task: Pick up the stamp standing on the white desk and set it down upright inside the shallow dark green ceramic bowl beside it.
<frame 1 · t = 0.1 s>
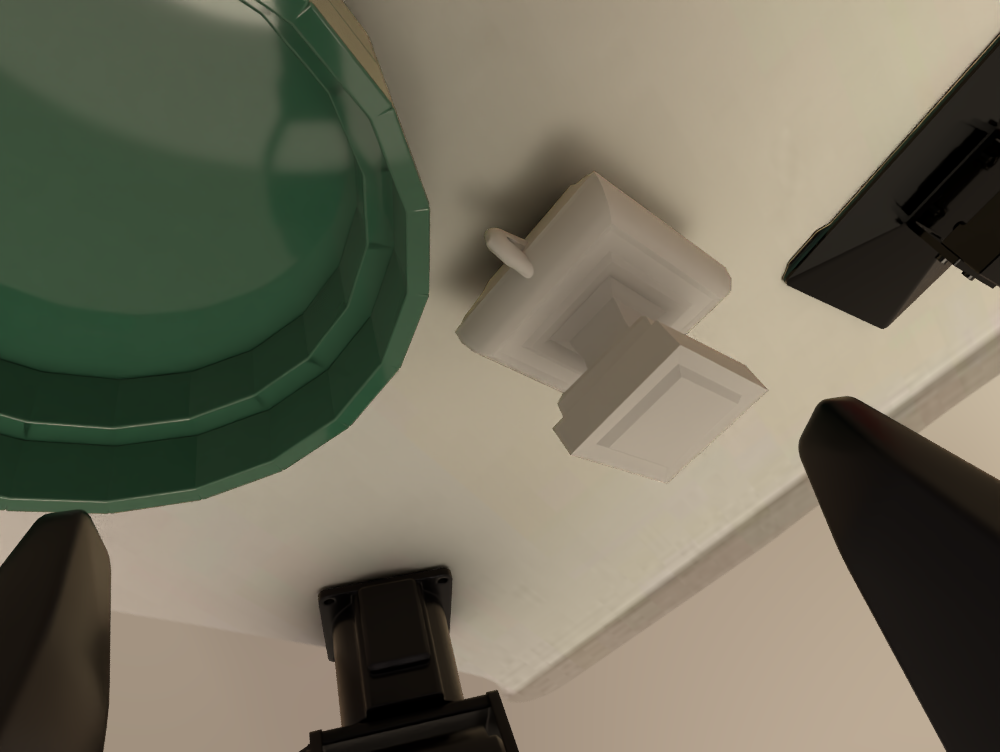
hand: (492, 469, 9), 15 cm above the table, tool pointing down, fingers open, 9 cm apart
stamp: (567, 253, 26), on the table
build plate: (948, 177, 28), on the table
green bowl: (97, 174, 20), on the table
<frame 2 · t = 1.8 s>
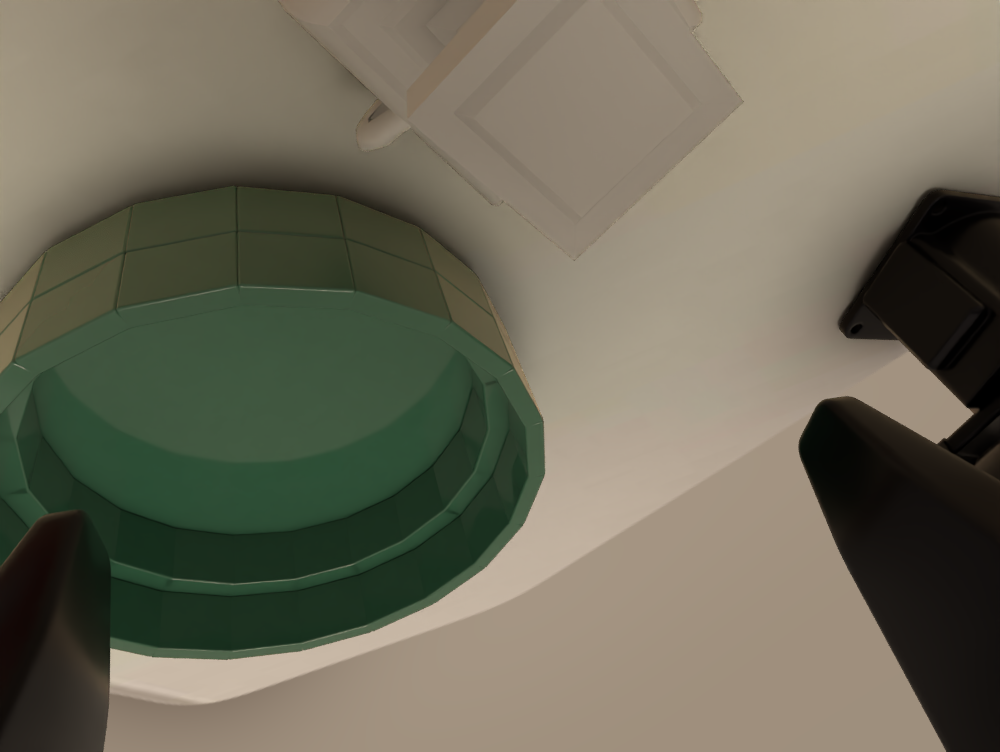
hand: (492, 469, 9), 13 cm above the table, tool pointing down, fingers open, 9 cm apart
green bowl: (271, 396, 25), on the table
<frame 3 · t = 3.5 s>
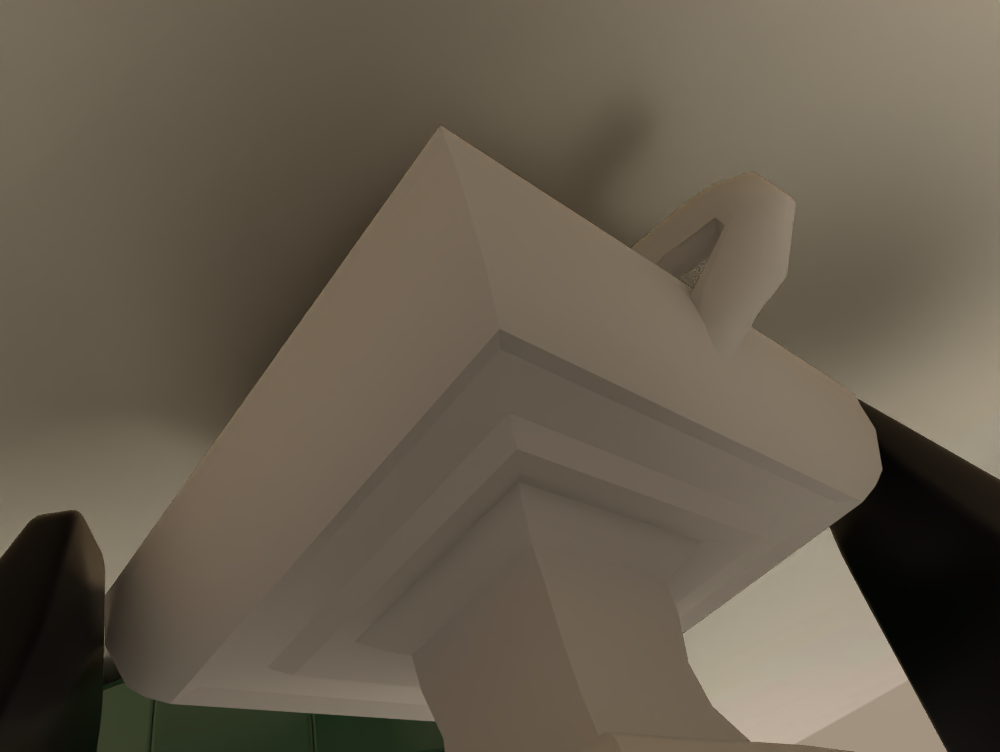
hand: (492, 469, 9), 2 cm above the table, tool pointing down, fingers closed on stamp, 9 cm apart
stamp: (454, 347, 11), on the table, touching gripper
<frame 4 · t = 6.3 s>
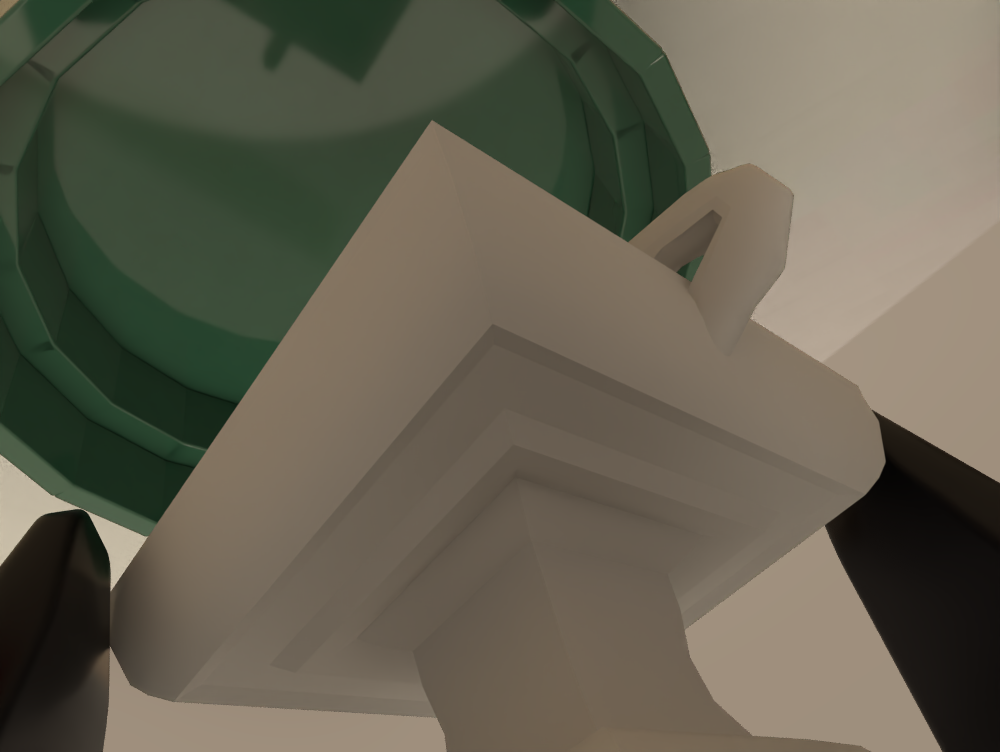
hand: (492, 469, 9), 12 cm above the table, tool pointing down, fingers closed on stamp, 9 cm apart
stamp: (455, 344, 11), point 10 cm above the table, touching gripper
green bowl: (340, 214, 20), on the table
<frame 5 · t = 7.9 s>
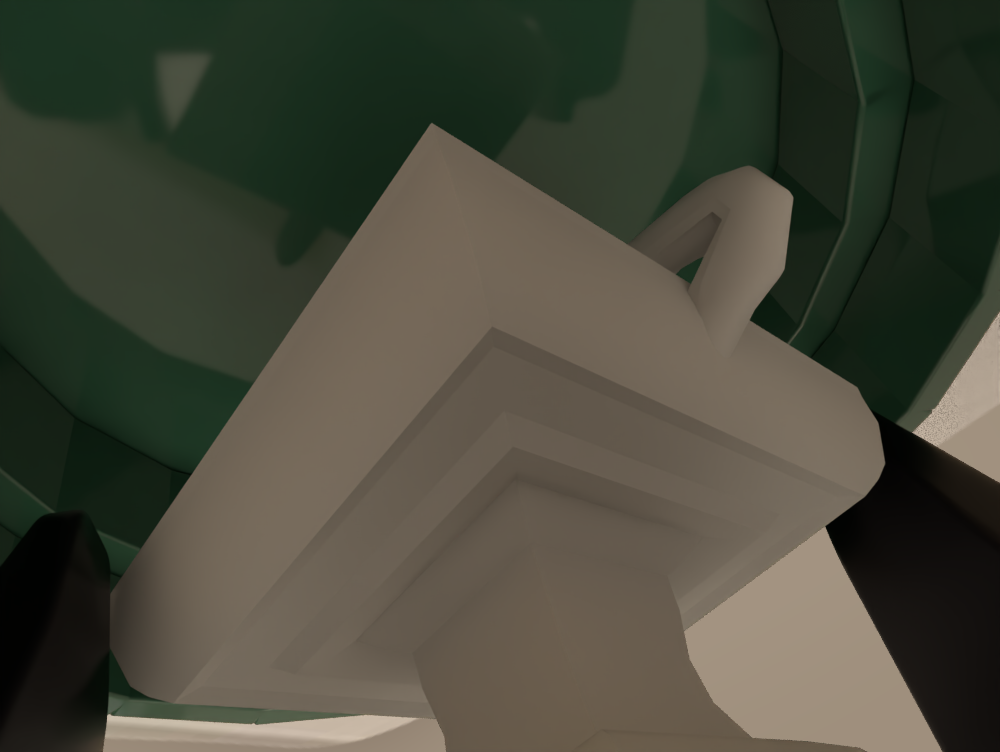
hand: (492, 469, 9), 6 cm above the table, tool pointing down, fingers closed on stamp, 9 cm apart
stamp: (455, 345, 11), point 3 cm above the table, touching gripper
green bowl: (403, 222, 13), on the table
when the fingers open (3 cm above the table, at t = 9.4 s): stamp stays where it is, resting on green bowl.
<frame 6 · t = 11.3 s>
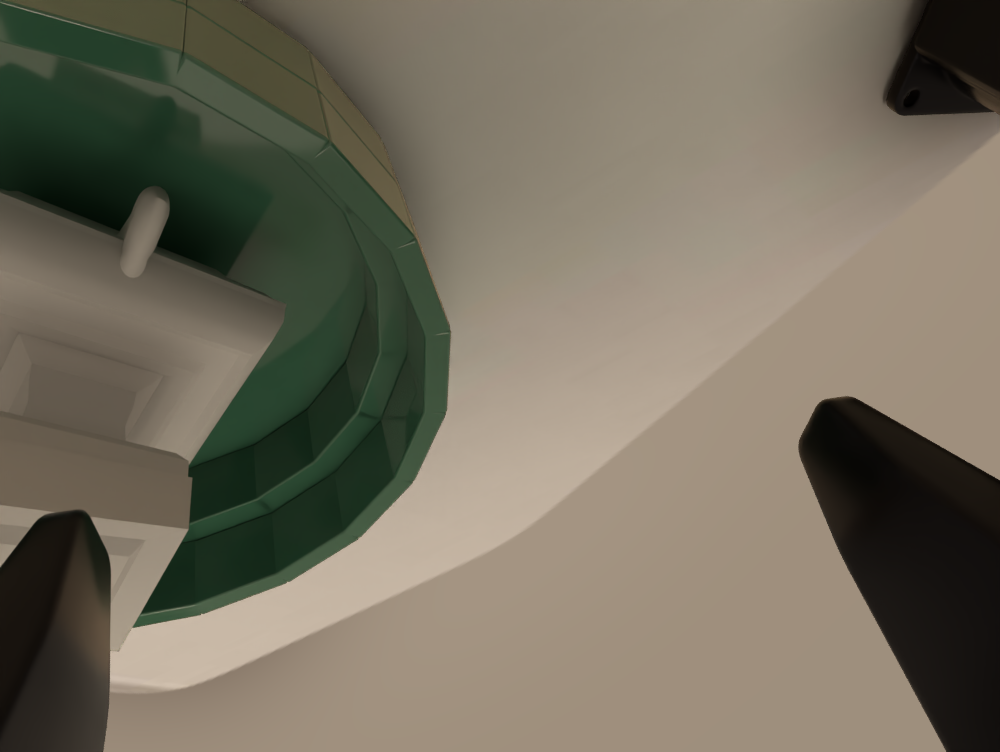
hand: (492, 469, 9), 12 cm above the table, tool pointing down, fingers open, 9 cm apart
stamp: (93, 287, 18), resting on green bowl
green bowl: (89, 280, 19), on the table
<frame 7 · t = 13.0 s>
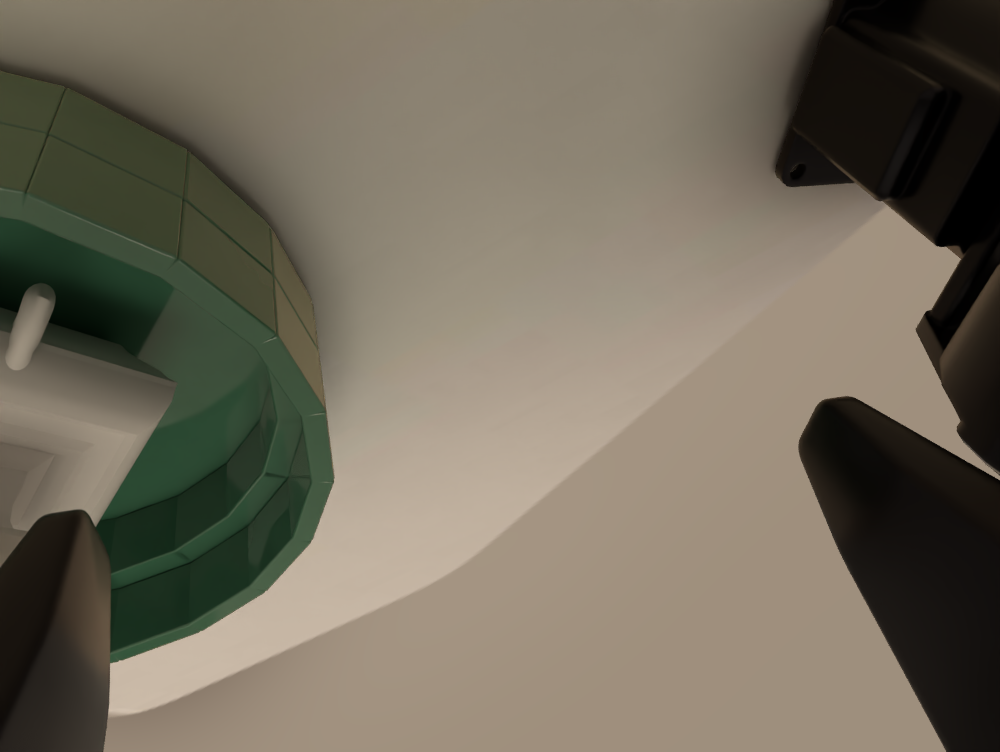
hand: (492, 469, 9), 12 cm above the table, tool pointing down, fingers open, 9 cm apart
stamp: (6, 361, 20), resting on green bowl
green bowl: (4, 353, 20), on the table
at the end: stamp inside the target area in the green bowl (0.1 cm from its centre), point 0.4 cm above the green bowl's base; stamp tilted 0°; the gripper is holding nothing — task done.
